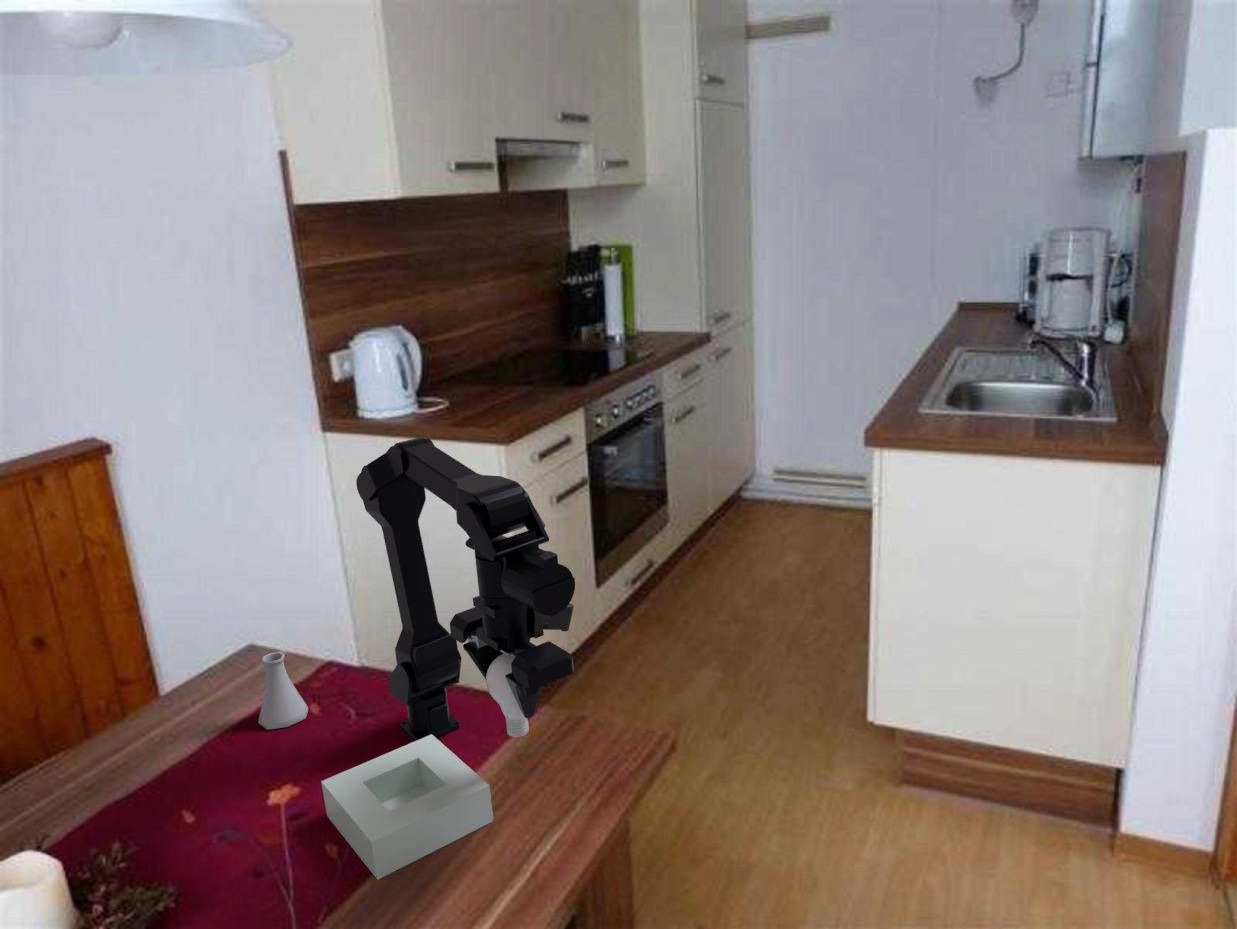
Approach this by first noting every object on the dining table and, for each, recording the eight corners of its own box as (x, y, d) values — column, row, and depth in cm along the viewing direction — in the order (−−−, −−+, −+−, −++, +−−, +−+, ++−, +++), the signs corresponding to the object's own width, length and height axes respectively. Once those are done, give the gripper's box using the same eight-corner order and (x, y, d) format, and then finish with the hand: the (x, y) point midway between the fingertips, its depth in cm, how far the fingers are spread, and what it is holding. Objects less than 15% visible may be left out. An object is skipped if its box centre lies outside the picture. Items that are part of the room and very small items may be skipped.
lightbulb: (554, 734, 115) (547, 653, 112) (512, 756, 111) (503, 673, 108) (523, 715, 120) (516, 637, 116) (482, 736, 116) (473, 656, 112)
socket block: (327, 816, 116) (321, 781, 115) (436, 767, 125) (431, 734, 124) (377, 879, 105) (371, 842, 103) (493, 820, 113) (489, 785, 112)
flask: (255, 713, 141) (243, 653, 138) (304, 699, 144) (294, 640, 142) (262, 736, 135) (250, 674, 132) (313, 720, 138) (302, 659, 135)
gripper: (606, 591, 107) (614, 711, 112) (518, 549, 121) (528, 657, 126) (525, 622, 101) (537, 749, 105) (441, 574, 115) (455, 687, 119)
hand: (515, 706), depth 114 cm, fingers closed on lightbulb, 6 cm apart
